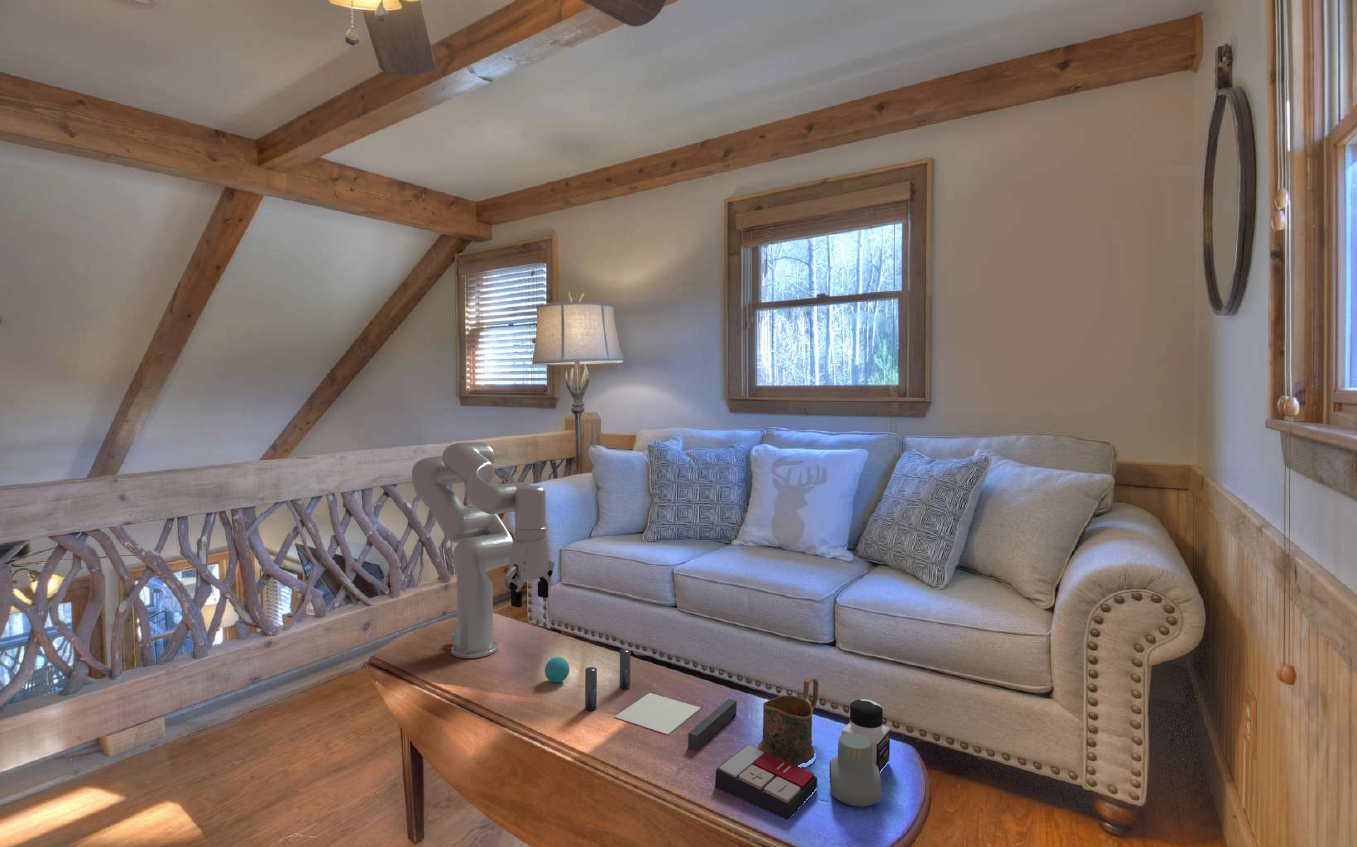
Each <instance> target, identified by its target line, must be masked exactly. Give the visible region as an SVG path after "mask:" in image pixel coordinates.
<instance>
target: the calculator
mask: <svg viewBox="0 0 1357 847" xmlns="http://www.w3.org/2000/svg"><path fill="white" fill-rule="evenodd" d="M714 782H715V783H714V787H715V788H716V789H717V790H721V791H723V792H725V793H727V794H729V795H731V796H734V797H737V798H740V799H741V800H742V801H744V802H747V803H749V804H750V805H754V806H755V807H757V806H758V807H757V808H759V809H762V810H764V811H766V812H768V811H769V813H771V814H772V813H773V815H774V816H777V817H779V816H780V817H779V818H781V817H782V818H781V819H783V818H784V819H783V820H786V821H788V820H787V819H789V818H790V817H791V816H792V815H793V814H794V813H795V812H796V811H797V810H798V808H799V807H800V806H801V805H802V804H803V803H804V801H806V799H807V798H808V797H809V796H810V795H811V794H812V792H814V790H815V789H816V788H818V777H817V776H816V775H815V774H814V773H813V772H811V771H808V770H807V769H805V768H800V767H798V766H795V765H793V764H791V763H789V762H787V761H784V760H782V759H780V758H778V757H776V756H773V755H771V754H769V753H764V752H762V751H760V750H758V748H755V747H753V746H751V745H746V746H744V747H743V748H741V750H739V751H738V752H736V753H735V754H734V755H732V756H731V757H730V758H728V759H727V760H726V761H725V762H723V763H722V764H721V765H720V766H718V767H716V769H715V781H714ZM806 802H807V801H806ZM798 811H799V810H798ZM798 811H797V812H798ZM797 812H796V813H797ZM796 813H795V814H796ZM795 814H794V815H795ZM794 815H793V816H794ZM793 816H792V817H793ZM792 817H791V818H792ZM791 818H790V819H791ZM790 819H789V820H790Z"/></svg>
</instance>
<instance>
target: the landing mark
mask: <svg viewBox="0 0 1357 847" xmlns="http://www.w3.org/2000/svg"><path fill="white" fill-rule="evenodd" d="M701 709H702V707H701V706H696V705H692V704H689V703H687V702H683V701H679V700H677V699H672V698H669V697H666V696H661V695H659V694H655V693H651V692H649V693H648V694H646V695H644V696H642V697H641V698H640V699H639V700H636V701H635V702H634V703H632V704H631V705H630V706H628V707H627V708H625V709H623V710H622V711H620V712H619V713H618V714H616V715H614V717H613V718H615V719H618V720H621V721H624V722H627V723H629V724H633V725H635V726H639V727H641V728H646V729H648V730H651V731H655V732H657V733H660V734H663V735H667V736H669V735H670V734H671V733H673V731H675V730H676V729H678V728H679V727H681V725H682V724H684V723H685V722H687V720H689V719H690V718H691V717H692V716H694V715H695V714H696V713H697V712H698V711H700V710H701Z"/></svg>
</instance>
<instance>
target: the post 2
mask: <svg viewBox="0 0 1357 847" xmlns="http://www.w3.org/2000/svg"><path fill="white" fill-rule="evenodd" d="M631 651H632V650H631V649H628V648H622V649H619V689H620V690H624V691H626V690H630V689H631V655H632V654H631Z"/></svg>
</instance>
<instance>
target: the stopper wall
mask: <svg viewBox="0 0 1357 847" xmlns="http://www.w3.org/2000/svg"><path fill="white" fill-rule="evenodd" d="M737 702H738V701H737V700H734V699H730V698H728V699H726V700H725V701H724V702H723V703H722V704H720V705H719V706H718V707H717V708H716V709H715V710H713V711H712V712H711V713H709V715H707V717H705V718H704V719H703V720H701V722H700V723H698V724H697V725H696V726H695V727H693V728H692V729H691V730H690V731H689V732H687V733H688V734H687V736H688V737H687V738H688V739H687V748H688V749H690V750H694V751H698V750H699V749H700V748H701V747H703V745H704V744H706V742H708V741H709V740H710V739H711V738H712V737H713V736H714V735H716V734H717V733H718V732H719V731H720V730H721V729H722V728H723V727H724V726H725V725H726V724H728V722H729V721H731V720H732V719H733V718H734V717H735V716H736V715H737ZM734 715H735V716H734ZM733 716H734V717H733ZM732 717H733V718H732ZM731 718H732V719H731ZM730 719H731V720H730ZM728 720H729V721H728ZM723 725H724V726H723ZM722 726H723V727H722ZM721 727H722V728H721ZM719 729H720V730H719ZM718 730H719V731H718Z"/></svg>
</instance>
